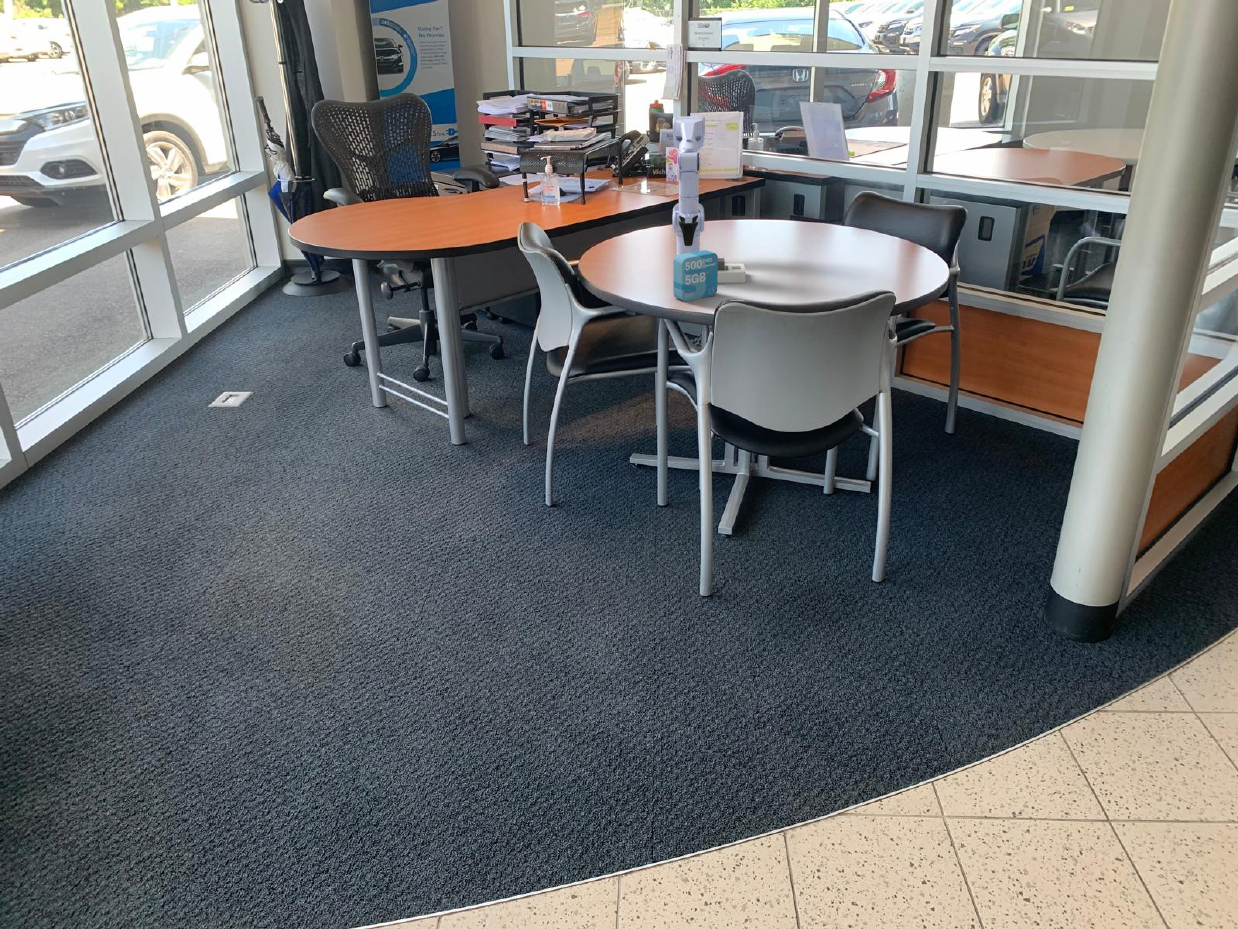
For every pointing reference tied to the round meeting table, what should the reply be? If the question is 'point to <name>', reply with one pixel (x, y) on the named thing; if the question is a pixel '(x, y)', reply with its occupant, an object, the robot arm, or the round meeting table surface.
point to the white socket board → (732, 274)
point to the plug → (721, 264)
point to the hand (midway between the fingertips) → (688, 242)
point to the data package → (695, 275)
